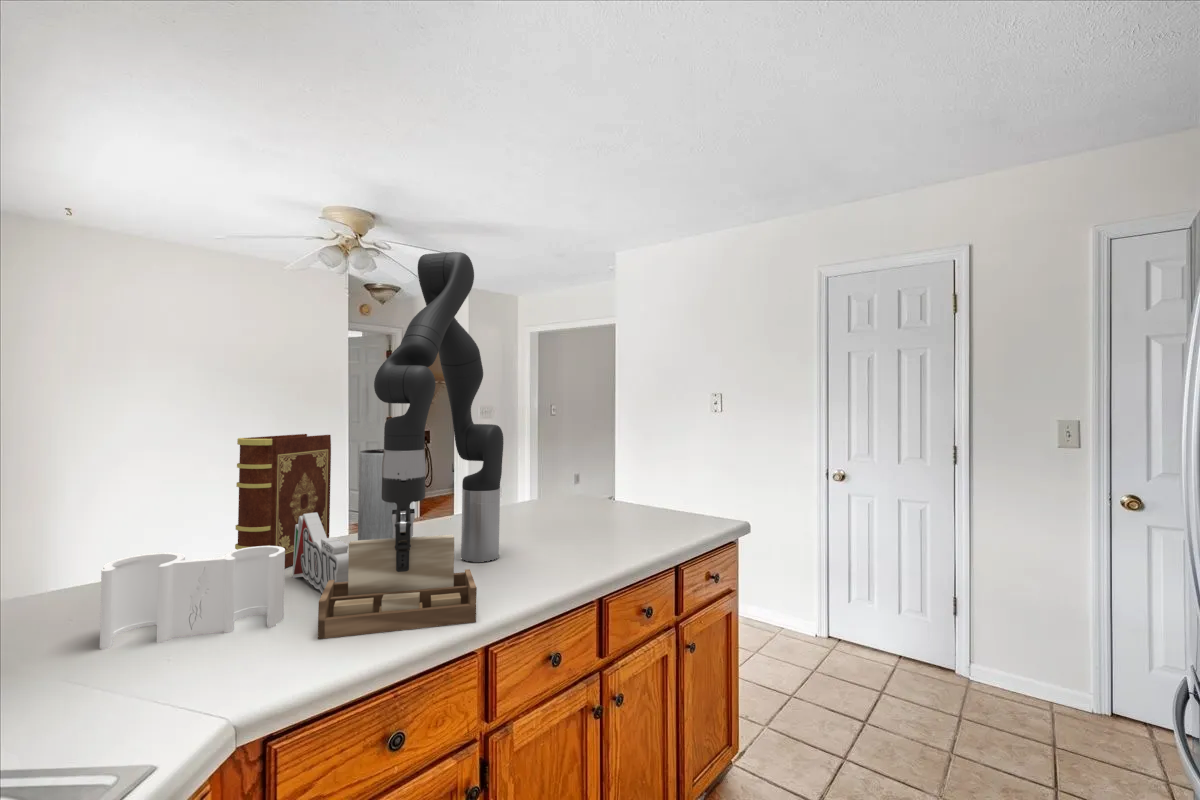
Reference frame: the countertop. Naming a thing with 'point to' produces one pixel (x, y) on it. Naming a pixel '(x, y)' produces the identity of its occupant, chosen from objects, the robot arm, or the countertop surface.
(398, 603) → the upper offcut
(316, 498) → the decorative book
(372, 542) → the sheet
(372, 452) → the vase
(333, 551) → the decorative sign
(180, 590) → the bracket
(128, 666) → the countertop surface
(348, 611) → the offcut
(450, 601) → the offcut
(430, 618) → the rack
